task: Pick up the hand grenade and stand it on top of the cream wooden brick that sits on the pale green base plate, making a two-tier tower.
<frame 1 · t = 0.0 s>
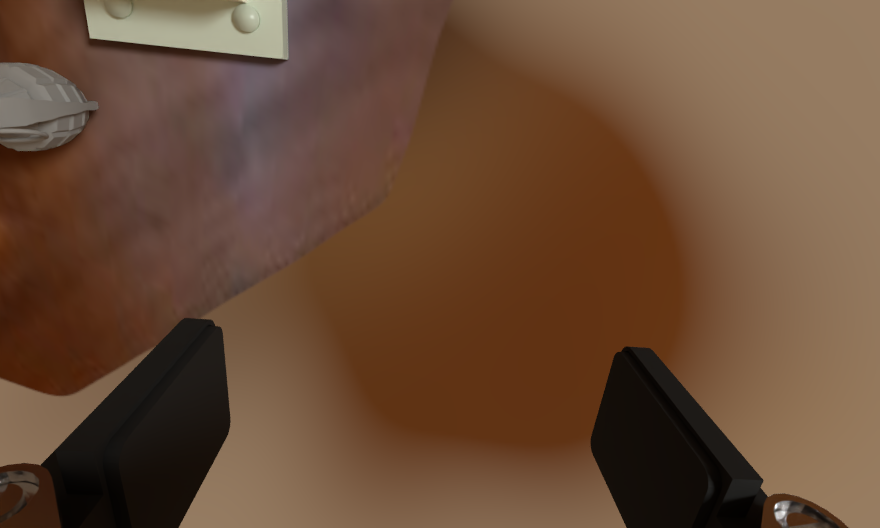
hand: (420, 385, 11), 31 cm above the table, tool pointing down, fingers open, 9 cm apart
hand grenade: (76, 103, 37), on the table
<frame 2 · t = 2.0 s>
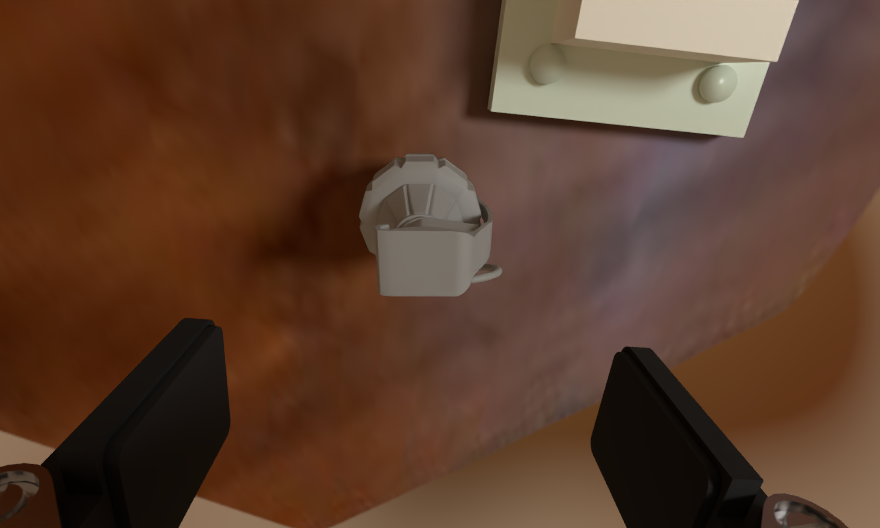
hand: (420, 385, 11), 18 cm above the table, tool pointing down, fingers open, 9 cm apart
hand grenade: (425, 191, 27), on the table
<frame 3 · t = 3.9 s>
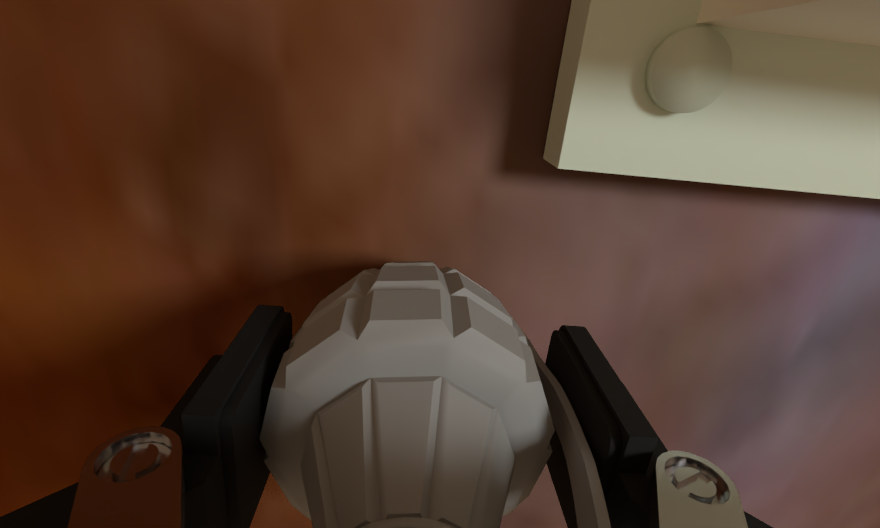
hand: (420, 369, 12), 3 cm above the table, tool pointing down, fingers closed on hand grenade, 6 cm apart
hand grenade: (421, 306, 15), on the table, touching gripper
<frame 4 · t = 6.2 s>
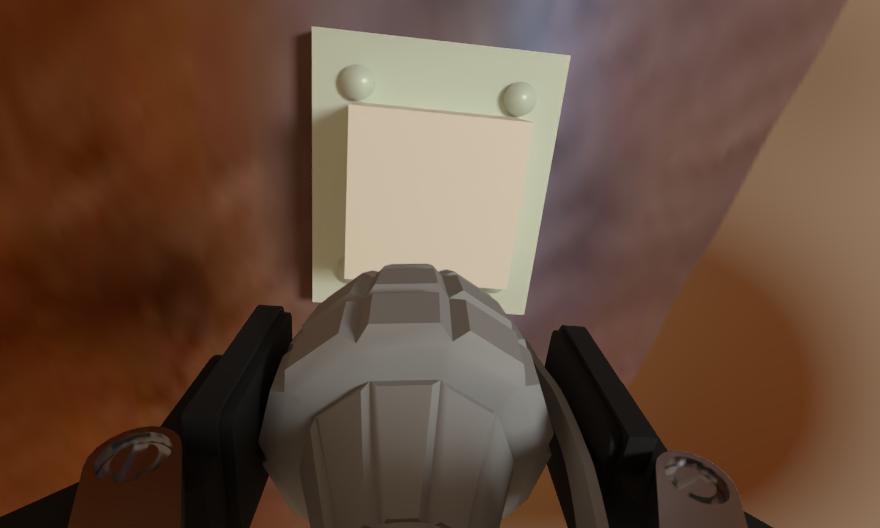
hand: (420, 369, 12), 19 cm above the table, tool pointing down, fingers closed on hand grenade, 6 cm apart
base plate: (430, 183, 29), on the table
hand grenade: (420, 308, 15), point 15 cm above the table, touching gripper
cream brick: (431, 188, 27), point 1 cm above the table, touching base plate
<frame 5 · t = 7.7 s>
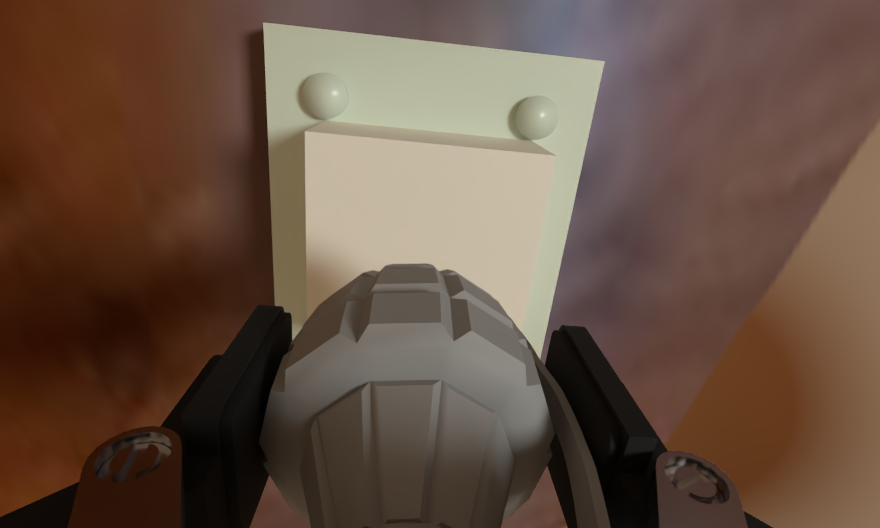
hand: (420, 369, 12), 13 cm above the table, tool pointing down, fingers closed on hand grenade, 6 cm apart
base plate: (421, 219, 23), on the table
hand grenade: (421, 308, 15), point 9 cm above the table, touching gripper
cream brick: (421, 228, 22), point 1 cm above the table, touching base plate
when the fingers open (9 cm above the table, at t = 8.8 s): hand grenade stays where it is, resting on cream brick.
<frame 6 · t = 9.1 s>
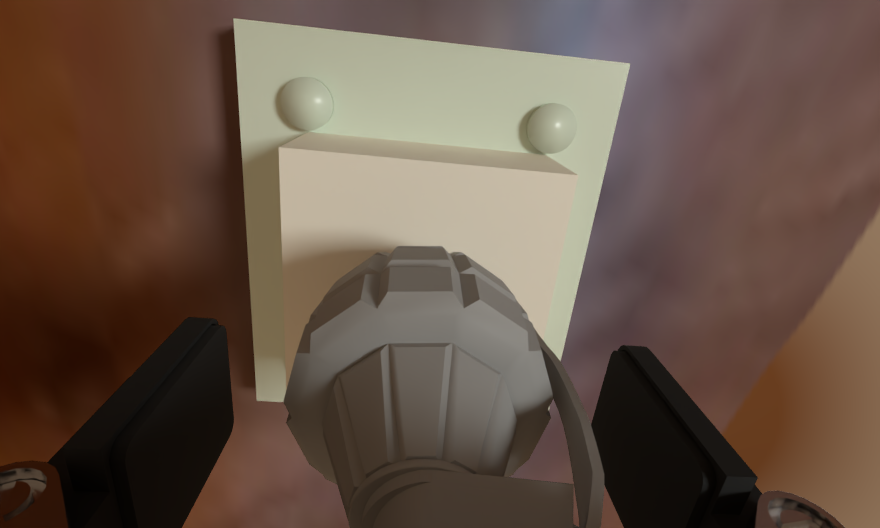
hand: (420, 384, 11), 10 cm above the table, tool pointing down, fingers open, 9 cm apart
base plate: (419, 241, 20), on the table
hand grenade: (427, 291, 16), point 5 cm above the table, touching cream brick
cream brick: (419, 253, 19), point 1 cm above the table, touching base plate, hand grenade
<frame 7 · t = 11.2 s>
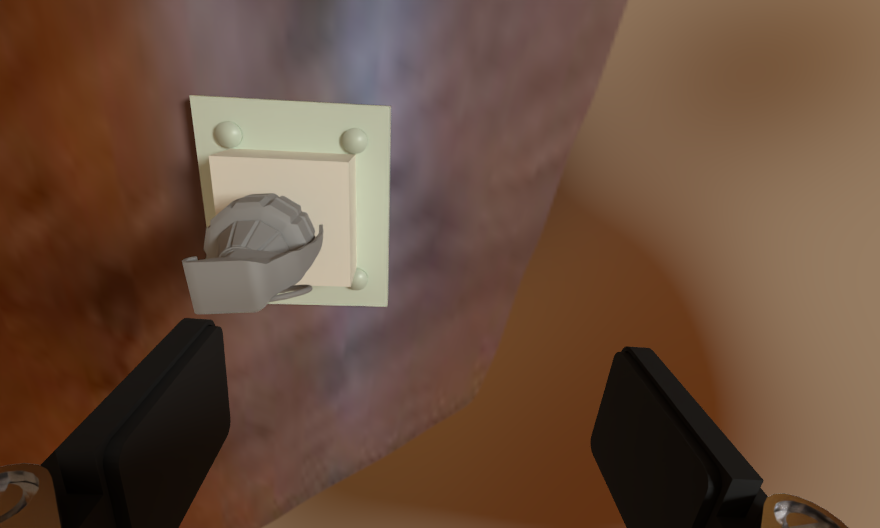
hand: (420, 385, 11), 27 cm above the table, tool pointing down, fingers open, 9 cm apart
base plate: (301, 206, 37), on the table
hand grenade: (288, 222, 32), point 5 cm above the table, touching cream brick
cream brick: (297, 210, 35), point 1 cm above the table, touching base plate, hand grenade
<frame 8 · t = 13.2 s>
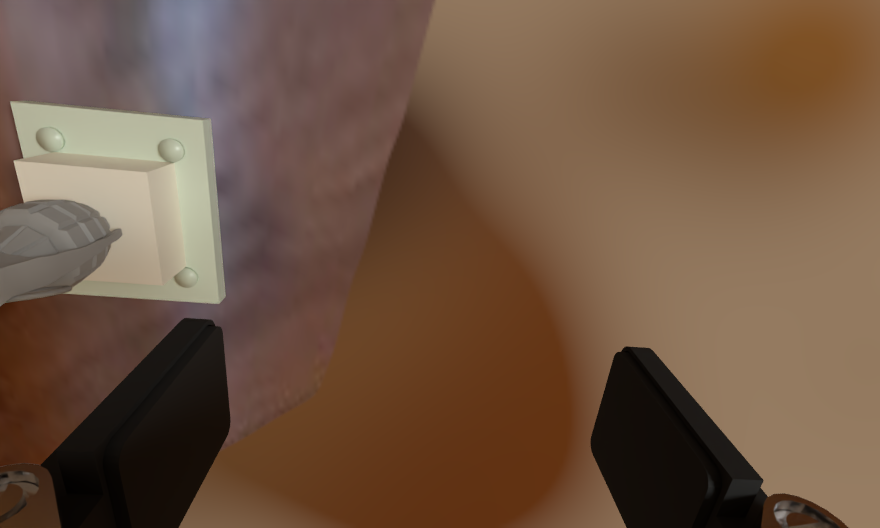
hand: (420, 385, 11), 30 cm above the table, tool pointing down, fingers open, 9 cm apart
base plate: (134, 207, 39), on the table
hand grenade: (97, 224, 34), point 5 cm above the table, touching cream brick
cream brick: (124, 212, 38), point 1 cm above the table, touching base plate, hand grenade
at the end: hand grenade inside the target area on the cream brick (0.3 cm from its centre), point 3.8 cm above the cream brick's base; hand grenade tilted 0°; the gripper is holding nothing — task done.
